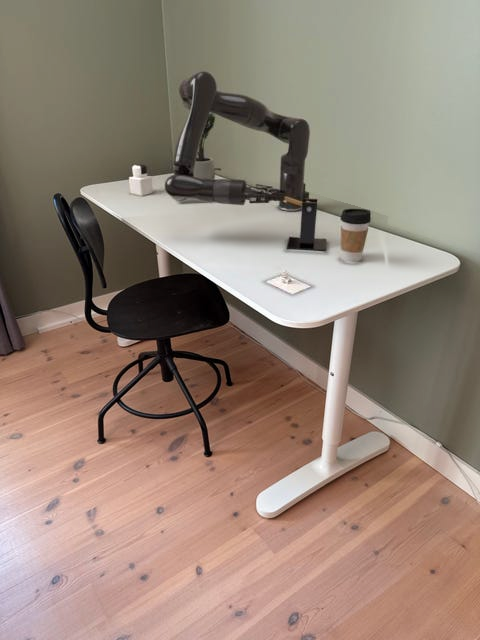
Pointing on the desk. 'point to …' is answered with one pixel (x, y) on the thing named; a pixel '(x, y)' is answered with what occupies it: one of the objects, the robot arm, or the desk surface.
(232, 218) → the desk surface
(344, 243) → the coffee cup
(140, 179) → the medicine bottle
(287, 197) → the black ball knob lever
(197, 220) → the desk surface
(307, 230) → the black lever stand
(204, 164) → the potted plant
